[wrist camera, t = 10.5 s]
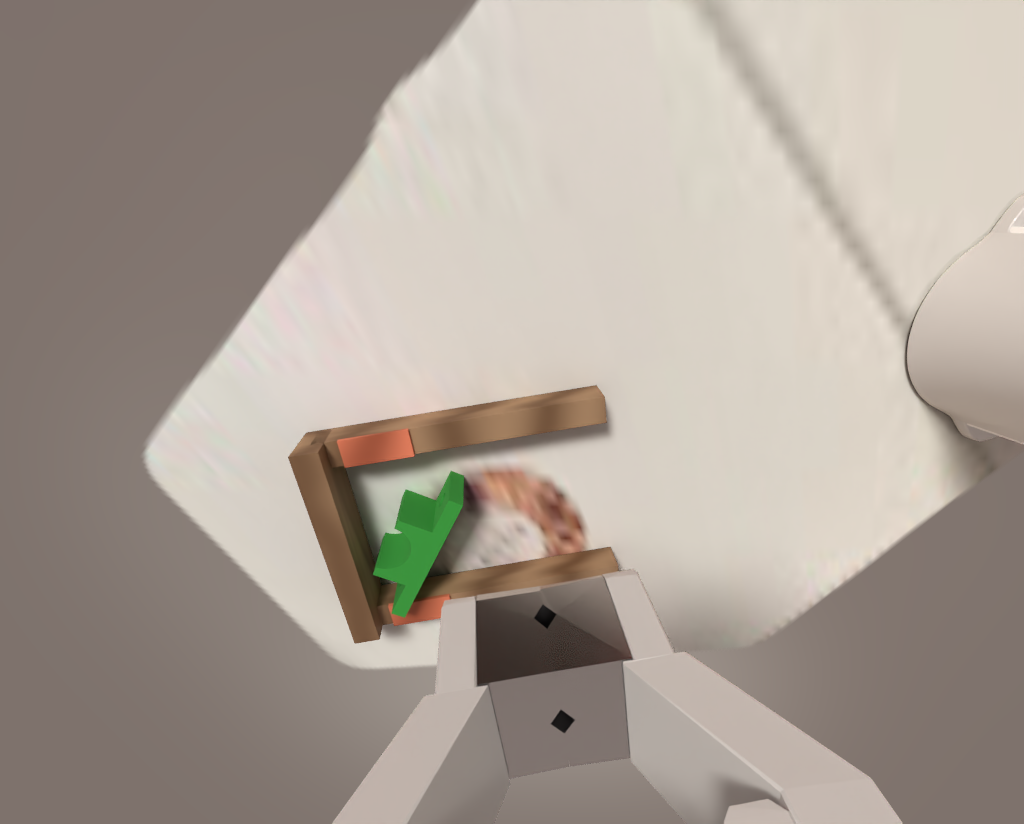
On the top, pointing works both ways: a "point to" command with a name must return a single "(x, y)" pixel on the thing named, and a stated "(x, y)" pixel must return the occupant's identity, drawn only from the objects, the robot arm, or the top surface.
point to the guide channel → (379, 441)
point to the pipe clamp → (418, 540)
